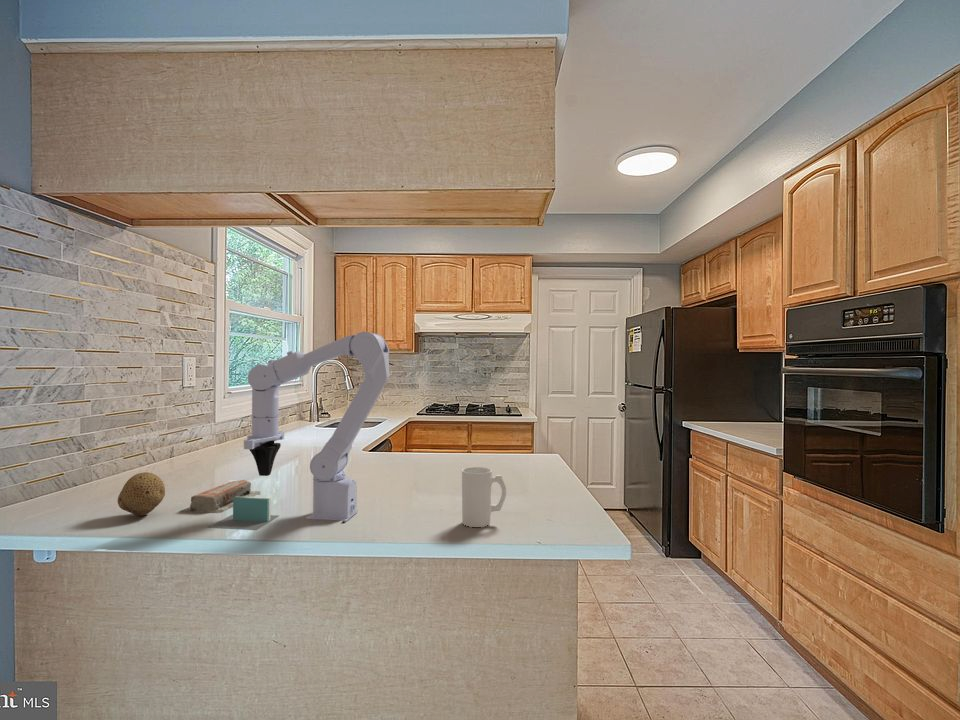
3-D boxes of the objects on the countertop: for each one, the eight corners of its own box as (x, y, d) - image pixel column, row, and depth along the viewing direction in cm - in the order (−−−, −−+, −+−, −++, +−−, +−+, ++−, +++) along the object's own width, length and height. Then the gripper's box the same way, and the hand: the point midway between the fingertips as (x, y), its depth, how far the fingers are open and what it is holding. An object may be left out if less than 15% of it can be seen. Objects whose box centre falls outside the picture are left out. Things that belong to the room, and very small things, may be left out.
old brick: (221, 496, 122) (181, 495, 123) (221, 517, 122) (181, 515, 123) (261, 478, 140) (225, 477, 141) (261, 496, 140) (225, 495, 141)
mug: (461, 528, 114) (461, 473, 114) (461, 519, 121) (461, 466, 121) (507, 528, 115) (507, 473, 115) (504, 518, 122) (505, 467, 122)
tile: (270, 519, 117) (270, 497, 117) (267, 521, 116) (267, 499, 116) (236, 518, 118) (236, 496, 118) (232, 520, 117) (233, 497, 117)
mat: (279, 518, 120) (279, 515, 120) (256, 532, 110) (256, 529, 110) (234, 516, 122) (234, 513, 122) (207, 530, 112) (207, 527, 112)
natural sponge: (171, 515, 121) (172, 472, 121) (127, 524, 115) (127, 479, 114) (157, 508, 127) (157, 466, 127) (113, 516, 120) (114, 472, 120)
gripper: (265, 412, 130) (264, 468, 130) (230, 419, 115) (230, 481, 115) (292, 413, 129) (292, 468, 129) (261, 420, 115) (260, 483, 115)
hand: (264, 475), depth 122 cm, fingers closed
